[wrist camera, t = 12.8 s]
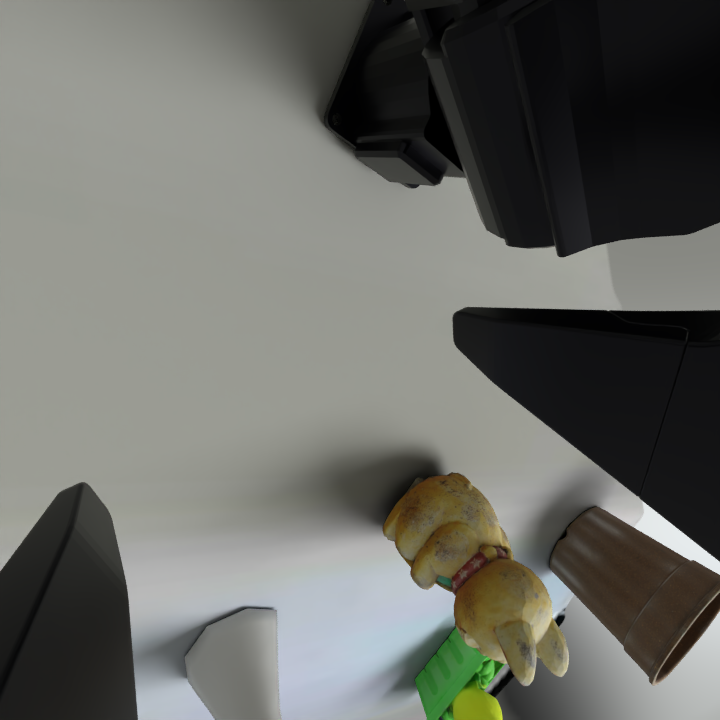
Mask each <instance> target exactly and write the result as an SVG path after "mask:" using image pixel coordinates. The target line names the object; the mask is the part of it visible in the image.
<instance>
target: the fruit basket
mask: <svg viewBox="0 0 720 720" xmlns="http://www.w3.org/2000/svg"><path fill="white" fill-rule="evenodd" d="M503 666H504V664H503V663H500V662H498V661H495V660H492V659H490V658H488V657H487V656H483V655H482V654H480V652H479V651H478V650H477V649H476V648H472V647H470V646H468V645H467V644H466V643H465V642H464V641H463V639H462V638H461V636H460V634H459V632H458V630H457V628H455V629H454V630H453V632H452V633H451V634H450V636H449V637H448V639H447V640H446V641H445V642H444V643H443V644H442V646H441V647H440V648H439V649H438V651H437V653H436V654H435V655H434V656H433V657H432V658H431V659H430V661H429V662H428V663H427V664H426V666H425V668H424V669H423V670H422V671H421V672H420V673H419V675H418V676H417V677H416V678H415V683H416V686H417V689H418V692H419V695H420V698H421V701H422V704H423V707H424V710H425V713H426V716H427V720H503V719H502V712H501V708H500V705H499V703H498V701H497V700H496V699H495V698H494V697H493V696H491V695H490V694H488V693H486V692H485V691H484V690H485V689H486V688H487V686H488V685H489V683H490V682H491V681H492V680H493V678H494V677H495V676H496V675H497V673H498V672H499V671H500V669H501V668H502V667H503Z"/></svg>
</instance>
